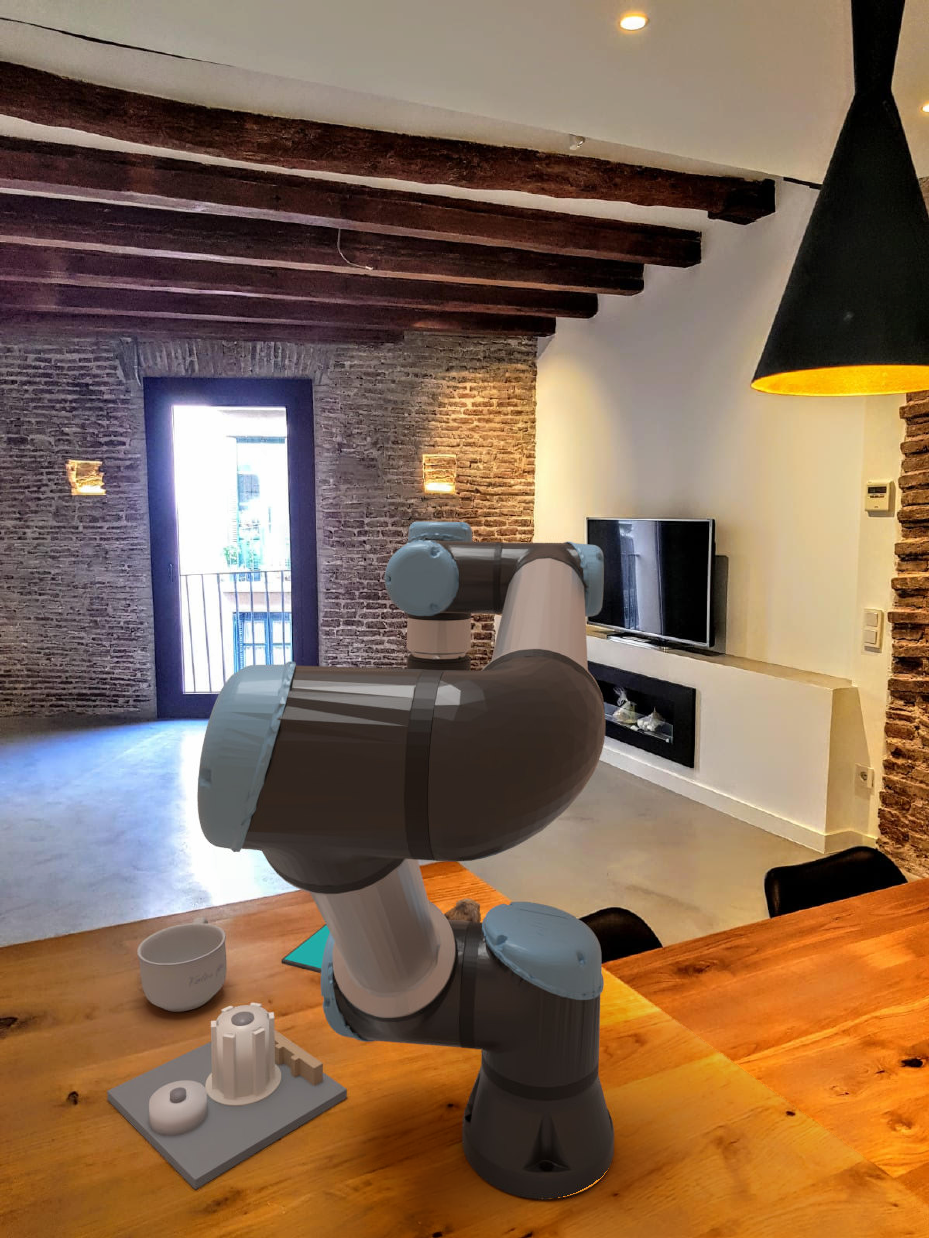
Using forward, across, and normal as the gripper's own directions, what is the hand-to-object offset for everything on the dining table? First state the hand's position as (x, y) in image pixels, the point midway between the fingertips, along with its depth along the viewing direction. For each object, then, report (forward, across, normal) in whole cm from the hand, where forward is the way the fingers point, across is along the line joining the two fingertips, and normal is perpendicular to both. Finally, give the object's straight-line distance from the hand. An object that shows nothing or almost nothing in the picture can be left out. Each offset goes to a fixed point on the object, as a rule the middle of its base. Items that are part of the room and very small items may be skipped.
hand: (436, 828), depth 105 cm
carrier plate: (+25, +8, +25) cm, 36 cm away
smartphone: (+26, +25, -6) cm, 36 cm away
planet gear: (+24, +8, +23) cm, 34 cm away
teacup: (+25, +29, +15) cm, 42 cm away
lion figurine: (+25, +10, -12) cm, 30 cm away
